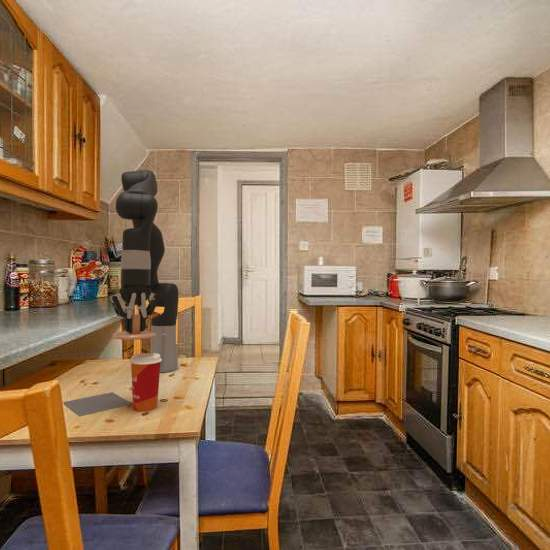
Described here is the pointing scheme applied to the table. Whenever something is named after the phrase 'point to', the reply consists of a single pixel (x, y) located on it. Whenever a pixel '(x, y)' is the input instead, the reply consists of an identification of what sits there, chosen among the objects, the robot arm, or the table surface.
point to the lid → (134, 331)
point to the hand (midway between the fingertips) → (134, 331)
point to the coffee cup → (145, 381)
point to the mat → (96, 403)
